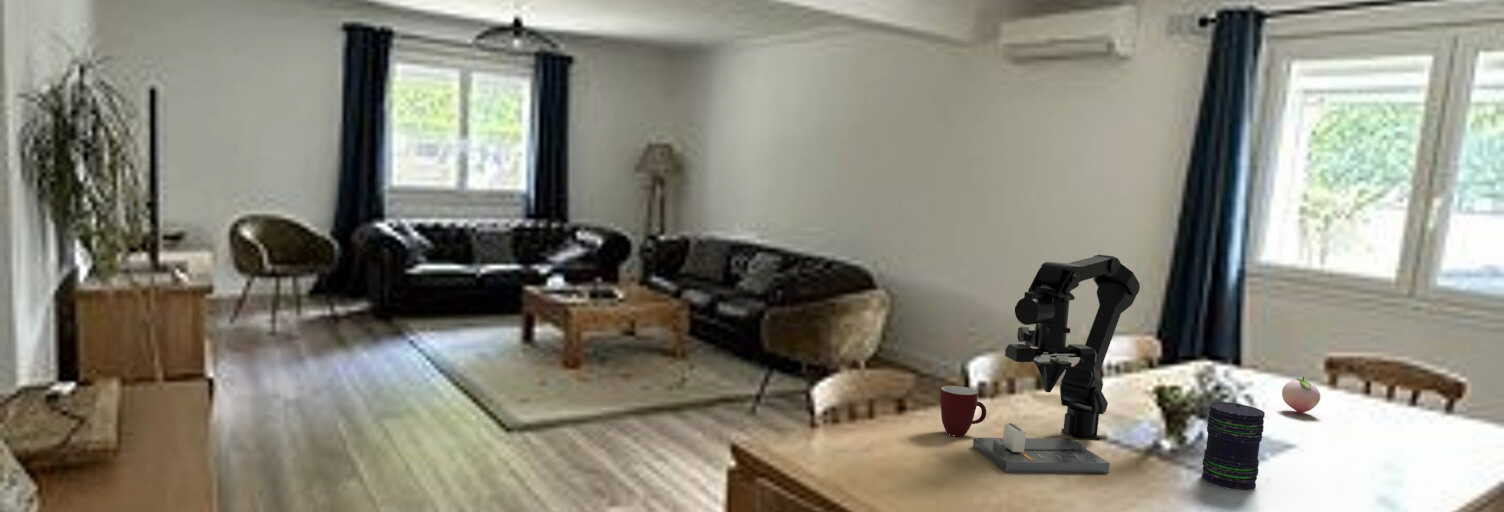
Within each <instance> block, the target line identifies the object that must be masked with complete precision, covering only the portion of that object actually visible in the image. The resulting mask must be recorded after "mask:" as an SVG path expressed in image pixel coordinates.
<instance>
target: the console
mask: <svg viewBox="0 0 1504 512" xmlns="http://www.w3.org/2000/svg"><path fill="white" fill-rule="evenodd" d="M972 447H973V448H974V449H975V450H976V451H978V453H981V455H983V456H984V457H985V458H986V459H988V460H989V461H991V462H992V463H993V464H995V466H997V467H998V468H999V469H1001V470H1002V471H1003V472H1004V473H1051V474H1052V473H1056V474H1057V473H1071V474H1072V473H1074V474H1075V473H1081V474H1082V473H1083V474H1085V473H1086V474H1088V473H1090V474H1091V473H1093V474H1094V473H1095V474H1097V473H1098V474H1099V473H1101V474H1103V473H1104V474H1105V473H1107V474H1108V473H1109V472H1110V462H1109V461H1107V460H1105V459H1104V458H1102V457H1100V456H1099V455H1097V454H1095V453H1093V452H1092V451H1091V450H1089V449H1087V444H1086V443H1084V442H1083V441H1080V439H1074V440H1073V439H1071V438H1051V437H1049V438H1047V437H1045V438H1044V437H1043V438H1041V437H1038V438H1037V437H1033V438H1032V437H1025V447H1024V452H1012V451H1011V450H1010V449H1008V448H1007V447H1005V444H1004V443H1003V437H973V442H972Z"/></svg>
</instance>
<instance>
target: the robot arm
mask: <svg viewBox="0 0 1504 512" xmlns="http://www.w3.org/2000/svg"><path fill="white" fill-rule="evenodd" d="M1040 266H1041V267H1040V268H1039V269H1038V270H1037V273H1036V275H1035V276H1034V278H1033V280H1032V282H1031V283H1030V286H1029V288H1028V291H1025V292H1024V293H1023V294H1024V296H1023V297H1021V299H1019V300H1018V301H1017V303H1016V305H1015V307H1014V315H1015V317H1016V319H1017V321H1018V323H1020V324H1022V325H1023V326H1020V327H1018V329H1017V341H1018V343H1008V345H1007V346H1006V348H1005V352H1004V356H1005V357H1006V358H1008V359H1010V360H1013V361H1015V362H1017V363H1034V364H1035V366H1036V367H1037V370H1038V372H1039V375H1040V378H1041V383H1042V387H1043V390H1044V392H1045V393H1051V392H1052V391H1053V389H1054V388H1055V386H1056V384H1057V382H1058V381H1059V379H1060V377H1061V376H1062V375H1063V374H1064V375H1063V377H1062V379H1061V382H1060V385H1059V393H1060V400H1061V401H1060V402H1061V406H1063V407H1067V408H1066V409H1067V410H1066V412H1065V413H1064V418H1063V419H1064V420H1063V428H1061V431H1062V432H1063V433H1065V434H1067V435H1068V436H1070V437H1072V438H1073V439H1074V440H1084V439H1085V440H1101V439H1102V437H1101V436H1100V435H1098V428H1099V420H1100V415H1104V414H1105V413H1106V412H1107V408H1108V405H1109V404H1108V403H1109V402H1108V401H1107V399H1106V397H1105V394H1104V393H1103V390H1102V389H1103V386H1104V382H1103V378H1102V374H1101V370H1102V368H1103V367H1102V366H1103V365H1104V361H1105V358H1106V355H1107V353H1108V351H1109V347H1110V346H1111V341H1112V340H1113V336H1114V333H1115V331H1116V328H1117V326H1118V323H1119V320H1120V318H1121V315H1122V313H1124V311H1126V310H1127V309H1129V307H1131V306H1133V304H1134V302H1135V299H1136V298H1137V295H1138V293H1139V292H1140V289H1141V286H1140V285H1141V284H1140V282H1139V280H1138V278H1137V276H1136V275H1135V273H1134V272H1133V271H1132V270H1130V269H1129V268H1128V267H1126V266H1125V265H1124V264H1123V263H1121V261H1120V260H1119V258H1118V257H1116V256H1114V255H1106V254H1100V253H1099V254H1095V255H1093V256H1091V257H1087V258H1083V259H1080V260H1076V261H1075V260H1074V261H1072V262H1057V261H1045V262H1044V263H1042V264H1041V265H1040ZM1091 279H1092V280H1093V281H1094V283H1095V286H1097V288H1096V289H1097V290H1096V296H1097V299H1098V304H1099V306H1098V308H1097V311H1096V314H1095V317H1094V319H1093V322H1092V325H1091V328H1090V331H1089V333H1088V336H1087V338H1086V341H1085V344H1082V343H1081V344H1080V343H1079V344H1077V343H1076V344H1075V343H1073V344H1072V343H1070V344H1068V345H1067V346H1066V343H1067V335H1068V334H1071V328H1070V327H1068V322H1069V321H1068V320H1069V310H1070V309H1069V308H1070V301H1074V300H1075V299H1076V297H1075V296H1074V294H1073V293H1071V291H1073V290H1075V289H1076V288H1078V287H1079V285H1080V283H1081V282H1083V281H1087V280H1091ZM1024 325H1025V326H1024ZM1029 325H1034V327H1035V328H1034V330H1031V329H1030V328H1029V327H1028V326H1029ZM1069 358H1079V360H1078V362H1077V363H1076V364H1075V365H1072V362H1070V361H1069Z"/></svg>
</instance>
